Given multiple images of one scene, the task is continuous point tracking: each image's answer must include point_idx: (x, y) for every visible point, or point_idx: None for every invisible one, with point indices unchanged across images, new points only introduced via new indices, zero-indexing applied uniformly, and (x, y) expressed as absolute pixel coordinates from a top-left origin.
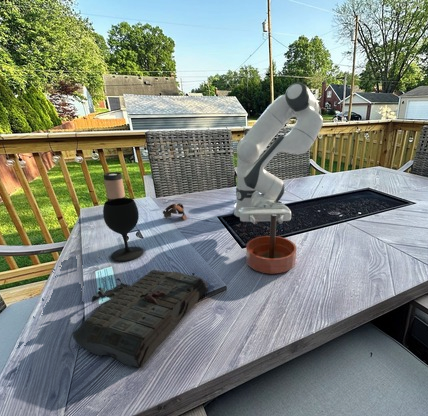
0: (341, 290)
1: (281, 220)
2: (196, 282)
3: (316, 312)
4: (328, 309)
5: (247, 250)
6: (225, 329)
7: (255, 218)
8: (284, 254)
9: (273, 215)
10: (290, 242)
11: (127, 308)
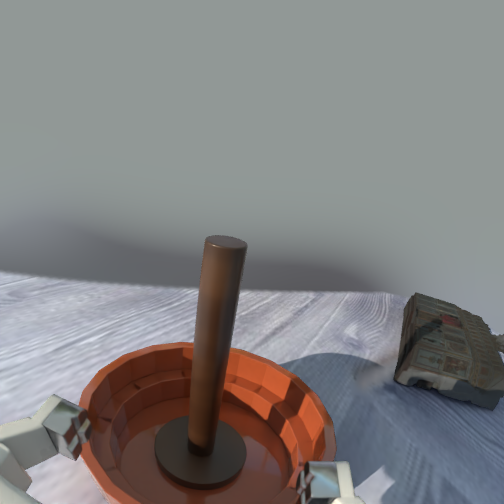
0: (100, 308)
1: (65, 401)
2: (416, 334)
3: (187, 301)
4: (163, 298)
5: (328, 414)
6: (336, 319)
7: (329, 488)
8: (120, 463)
9: (232, 238)
10: (88, 411)
11: (462, 318)
